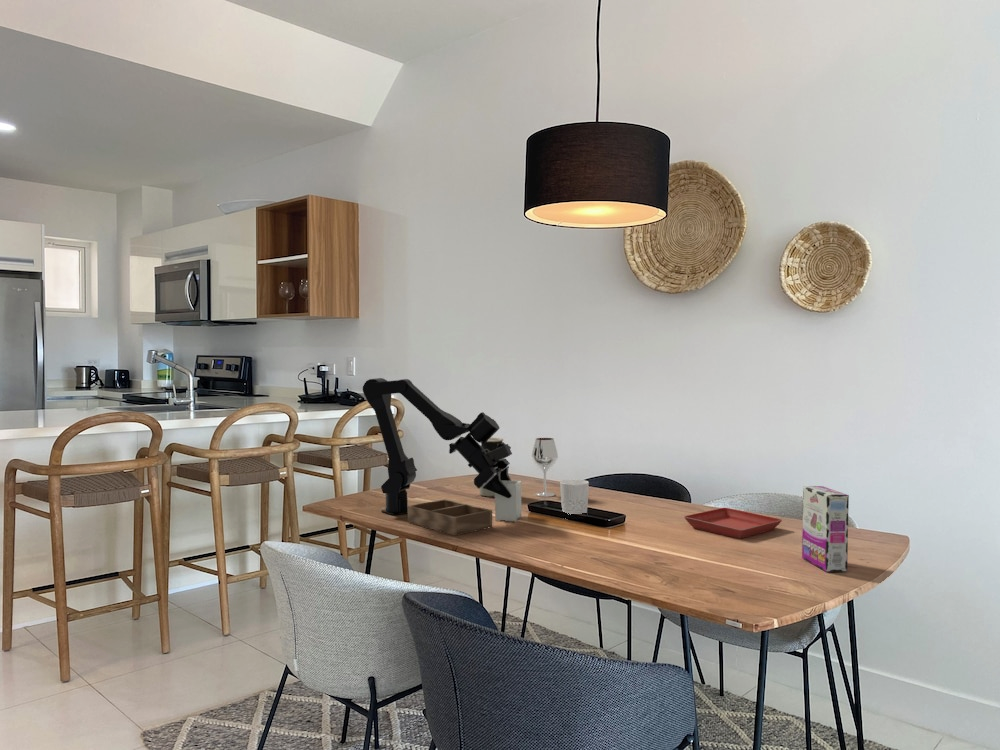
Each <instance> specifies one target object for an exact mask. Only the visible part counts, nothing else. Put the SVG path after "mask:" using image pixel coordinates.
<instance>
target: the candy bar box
mask: <svg viewBox="0 0 1000 750" xmlns="http://www.w3.org/2000/svg"><path fill="white" fill-rule="evenodd" d="M802 492H803V493H802V536H801V537H802V539H801V540H802V541H801V544H802V545H801V546H802V547H801V555H802V556H801V558H802V559H803V560H805V562H808V563H810V564H811V565H813V566H815V567H817V568H819V569H820V570H822V571H824V572H826V573H846V572H848V556H849V555H848V550H849V548H848V547H849V546H848V545H849V544H848V543H849V507H850V506H849V505H850V504H849V503H850V502H849V501H850V500H849V499H850V498H849V497H850V496H849V494H846V493H843V492H841V491H839V490H838V491H837V490H835V489H833V488H832V489H831V488H829V487H827V486H824V485H823V486H822V485H821V486H820V485H818V486H817V485H809V486H803V487H802Z"/></svg>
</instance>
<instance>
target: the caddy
mask: <svg viewBox="0 0 1000 750" xmlns="http://www.w3.org/2000/svg"><path fill="white" fill-rule="evenodd" d="M501 481H502V482H503V484H504V485H505V487H506V488H507V489H508V491H509V492H510V494H511V495H512V496H511V497H510V498H506V497H504V496H502V495H499V494H497V493H495V497H494V520H495V521H500V520H505V521H504V522H518V520H519V519H520V518H522V480H511V481H506V480H501Z"/></svg>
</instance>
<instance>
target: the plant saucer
mask: <svg viewBox="0 0 1000 750" xmlns="http://www.w3.org/2000/svg"><path fill="white" fill-rule="evenodd" d="M683 517H684V520H685V521H687V523H688V524H689V525H690V526H691V527H692V528H693V529H697V530H700V531H701V530H702V531H705V532H710V533H713V534H717V535H723V536H726V537H731V538H734V539H743V538H744V539H745V538H747V537H751V536H756V535H759V534H763V533H767V532H769V531H773V530H775V529H776V528H777V527H778V526H779V525H780V523H781V522H782V521H783V519H782V518H776V517H772V516H767V515H763V514H758V513H753V512H749V511H743V510H740V509H733V508H729V507H720V508H716V509H711V510H706V511H701V512H698V513H693V514H688V515H684V516H683Z"/></svg>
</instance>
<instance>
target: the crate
mask: <svg viewBox="0 0 1000 750" xmlns="http://www.w3.org/2000/svg"><path fill="white" fill-rule="evenodd" d="M408 522H410V523H409V524H411V523H413V524H412V525H415V524H417V525H416V526H418V525H420V527H422V526H423V527H422V528H425V527H427V528H426V529H429V528H431V529H430V530H432V529H434V530H433V531H436V530H437V532H439V531H441V532H440V533H443V532H444V533H443V534H446V533H448V534H447V535H450V534H451V536H453V535H455V536H459V535H458V534H460V535H462V534H461V533H464V534H467V533H466V532H469V533H472V532H471V531H473V532H476V531H475V530H478V531H480V529H482V530H485V529H484V528H486V529H489V528H488V527H491V528H493V510H492V509H488V508H484V507H480V506H475V505H472V504H468V503H462V502H459V501H456V500H455V501H454V500H449V499H446V498H444V499H438V500H434V501H429V502H423V503H417V504H412V505H411V504H410V505H408V513H407V523H408Z"/></svg>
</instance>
